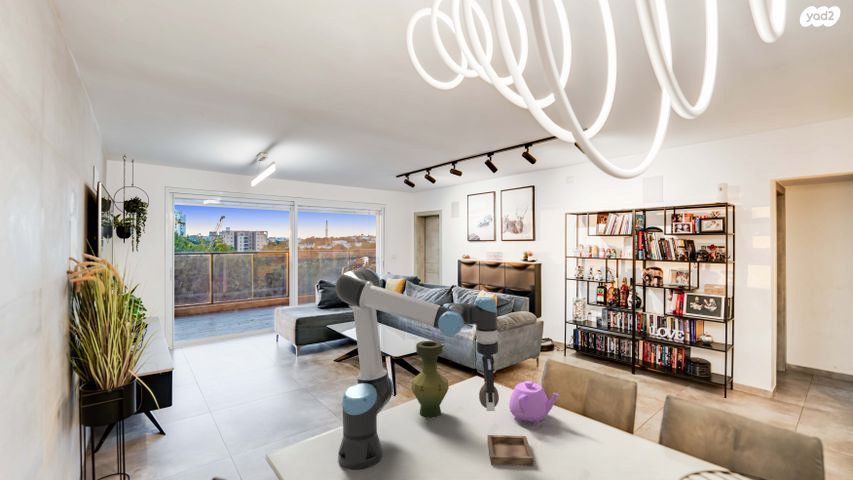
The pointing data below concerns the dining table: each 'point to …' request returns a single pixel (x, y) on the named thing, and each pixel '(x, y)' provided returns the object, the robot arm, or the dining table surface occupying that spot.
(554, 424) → the dining table surface
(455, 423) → the dining table surface
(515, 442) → the walnut tray
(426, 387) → the vase
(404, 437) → the dining table surface
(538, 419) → the teapot
